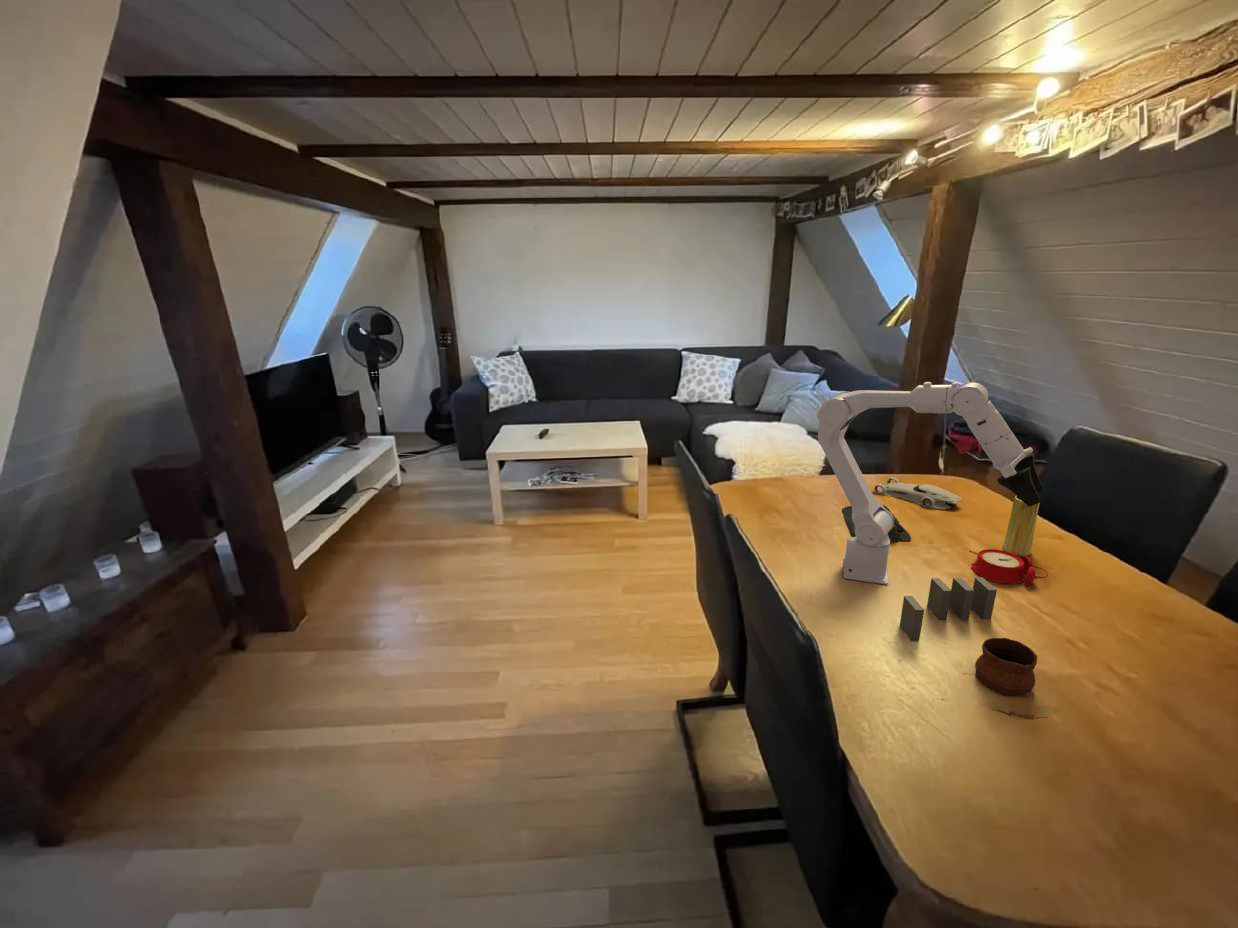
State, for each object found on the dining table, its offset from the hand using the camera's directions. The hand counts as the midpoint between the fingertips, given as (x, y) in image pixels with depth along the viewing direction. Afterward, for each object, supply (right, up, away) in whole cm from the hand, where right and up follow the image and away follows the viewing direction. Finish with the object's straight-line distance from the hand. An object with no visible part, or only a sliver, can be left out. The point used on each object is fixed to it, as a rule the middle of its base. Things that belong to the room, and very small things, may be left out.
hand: (1036, 497), depth 111 cm
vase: (+20, -16, +34) cm, 42 cm away
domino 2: (-10, -25, +9) cm, 28 cm away
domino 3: (-5, -25, +9) cm, 27 cm away
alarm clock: (+10, -20, +24) cm, 32 cm away
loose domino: (-23, -27, +3) cm, 36 cm away
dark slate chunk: (-9, -11, +51) cm, 53 cm away
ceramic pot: (-13, -32, -10) cm, 36 cm away
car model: (+12, -5, +68) cm, 70 cm away
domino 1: (-14, -25, +9) cm, 30 cm away
